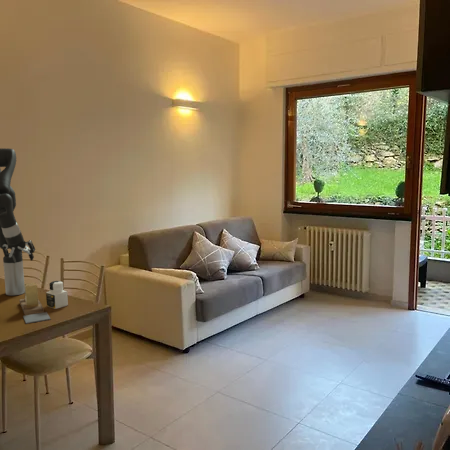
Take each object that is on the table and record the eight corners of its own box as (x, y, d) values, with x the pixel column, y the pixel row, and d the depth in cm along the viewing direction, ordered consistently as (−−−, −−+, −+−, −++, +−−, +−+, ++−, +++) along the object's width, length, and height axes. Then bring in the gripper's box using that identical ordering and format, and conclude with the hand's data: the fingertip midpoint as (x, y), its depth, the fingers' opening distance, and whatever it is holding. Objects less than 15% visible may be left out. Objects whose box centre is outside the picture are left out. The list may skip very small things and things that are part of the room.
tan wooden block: (25, 304, 219) (24, 284, 217) (36, 303, 221) (35, 282, 220) (27, 307, 214) (25, 286, 213) (38, 305, 217) (37, 285, 215)
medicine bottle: (46, 306, 222) (45, 282, 221) (59, 302, 228) (58, 279, 226) (55, 309, 218) (53, 284, 216) (68, 305, 224) (67, 281, 222)
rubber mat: (23, 316, 208) (23, 315, 208) (46, 313, 213) (46, 312, 213) (26, 323, 199) (25, 322, 199) (50, 319, 204) (50, 318, 204)
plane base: (19, 303, 227) (18, 287, 226) (37, 300, 231) (36, 285, 230) (25, 315, 210) (23, 298, 209) (43, 312, 214) (42, 295, 213)
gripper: (29, 226, 225) (39, 254, 233) (-1, 231, 224) (11, 259, 232) (25, 234, 218) (35, 263, 226) (-6, 239, 218) (6, 267, 226)
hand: (23, 261), depth 229 cm, fingers open, 8 cm apart
